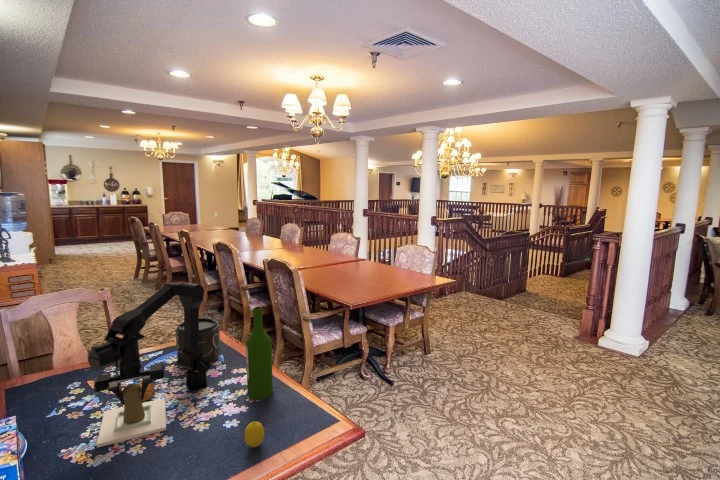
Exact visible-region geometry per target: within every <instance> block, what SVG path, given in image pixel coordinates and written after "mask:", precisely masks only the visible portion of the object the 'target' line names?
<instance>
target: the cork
mask: <svg viewBox="0 0 720 480" xmlns="http://www.w3.org/2000/svg"><path fill="white" fill-rule="evenodd" d="M122 391H123V392H122V394H123V397H124V418H123V422H124V423H127V424H131V423H136V422H138V421H140V420H142V419H143V418H144V417H145V413H144V409H143V405H142V403H143V401H141V397H140V393H141V386H140V385H139V383H130V384H128V385H126V386H125V387H123V388H122Z"/></svg>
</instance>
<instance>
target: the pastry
mask: <svg viewBox="0 0 720 480" xmlns="http://www.w3.org/2000/svg"><path fill="white" fill-rule="evenodd" d="M138 384H139V385H140V386H141V390H142V381H141V382H139V383H138ZM155 389H156V388H155V387H154V383H153V382H152V383H150V384H149V385H148V387H147V389H146V391H145V395H144V398H143V400H142V402H146V401H148V400H151V399H152V397H153V396H154V394H155ZM140 397H141V393H140Z"/></svg>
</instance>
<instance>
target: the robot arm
mask: <svg viewBox="0 0 720 480" xmlns="http://www.w3.org/2000/svg"><path fill="white" fill-rule="evenodd" d="M204 295H205V288H204V287H203V286H202V285H201V284H197V283H192V282H184V283H182V284H178V283H173V282H166V283H164V284H163V286H162V287H161V288H160V289H159V290H158V291H156V292H155V293H154V294H153V295H151V296H150V297H148V298H147V299H146V300H145V301H143V302H142V303H140V305H139V306H137V307H136V308H134V309H131V310H128V311H125V312H124V313H122V314H120V315H119V316H117V317H115V318H114V319H113V321H112V322H111V327H110V328H109V330H108V332H107V334H106V336H105V337H104V340H103V341H105V342H103V343H101V344H97V345H93V346H91V351H89V353H88V356H87V361H88V364H89V367H90V368H91V369H92V370H94V371H98V370H100V369H104V368H105V367H107V366H110V365H112V364H115V369H117V368H118V371H119V372H118V373H119V375H115V376H112V372H111V373H103V374H98V375H96V376H95V380H94V383H93V392H95V393H99V392H103V391H107V392H108V393H109V392H112V393H113V394H114V395H115V396H116V397H117V399H118V400H119V401H120V403H121V404H122V405H124V404H125V398H124V397H123V394H122V392H123V387H122V382H125V381H126V382H127V381H130V380H131V381H132V380H136V379H141V378H142V379H141V382H142V390H141V401H142V400H143V398H144V395H145V391H146V389H147V387H148V385H149V384H150V383H152V384H153V381H157V380H162V379H164V378H165V367H164V366H165V365H164V364H163V363H158V364H153V365H150V366H149V369H144V370H142V361H141V357H140V349H139V347H140V346H139V345H140V344H139V340H142V339H145V337H146V336H145V335H143V334H142V333H140V332H141V331H142V329H144V327H146V323H147V321H148V319H150V317H152V316H153V315H154V314H155V313H156V312H157V311H159V310H160V309H161V308H162V307H164V306H165V305H166V304H167V303H168V302H169V301H170V300H172V299H173V298H174V297H175V296H178V298H179V301H180V303H181V305H182V307H183V313H184V314H183V321H184V347H183V349H182V351H179V352H177V354H178V357H177V360H176V361H177V363H178V364H179V366H180V367H182V369H183V370H184V371H187V373H186V374H185V381H186V388H188V391H190V392H191V391H195V390H200V389H203V388H207V387H208V382H207V372H208V371H210V369H211V363H208V362H206V361H204V356H203V352H202V350H201V348H200V346H199V318H200V306H201V305H202V303H203V301H204ZM117 335H119V336H121V337H119V336H117ZM141 370H142V371H141ZM142 402H143V401H142Z"/></svg>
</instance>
